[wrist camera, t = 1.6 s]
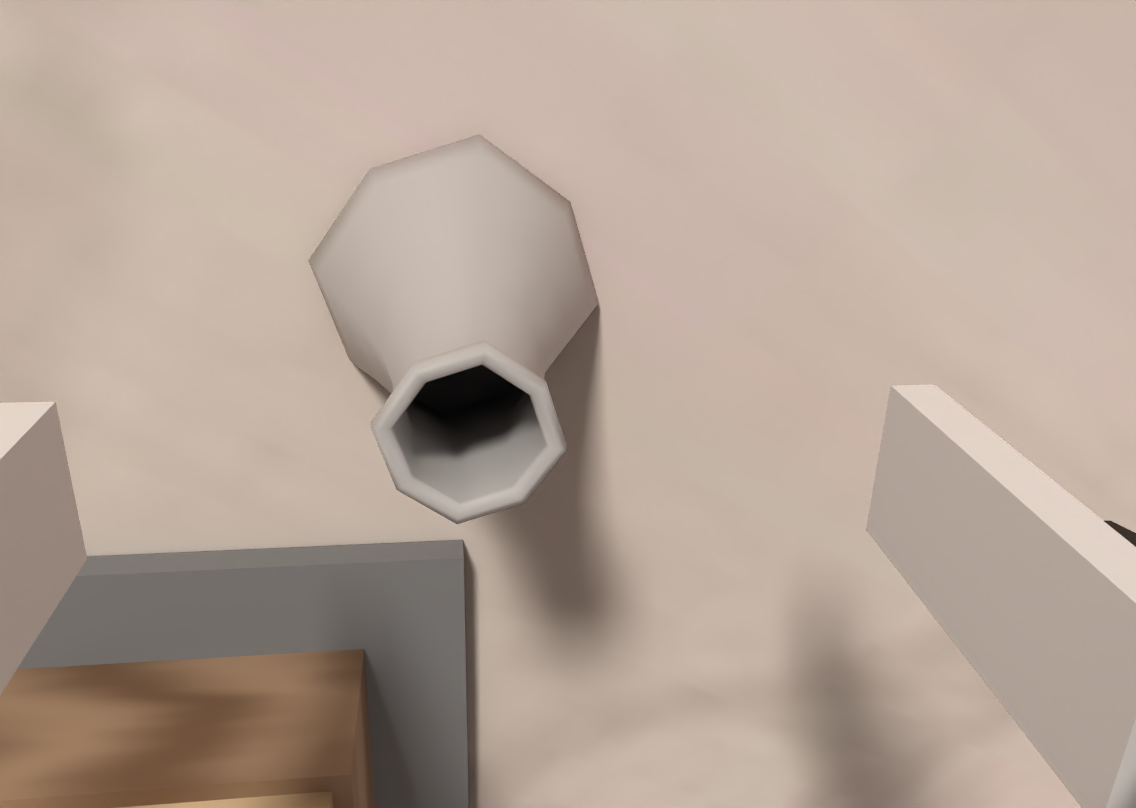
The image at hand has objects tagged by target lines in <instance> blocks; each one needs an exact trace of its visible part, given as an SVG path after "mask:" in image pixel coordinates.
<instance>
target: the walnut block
mask: <svg viewBox="0 0 1136 808" xmlns="http://www.w3.org/2000/svg"><path fill="white" fill-rule="evenodd" d="M328 791H332V798H333V808H375V797H374V783H373V769H372V754H371V740H370V726H369V712H368V698H367V683H366V669H365V655H364V649H355V650H338V651H321V652H304V653H287V654H270V655H253V656H235V657H218V658H201V659H184V660H167V661H150V662H133V663H116V664H98V665H81V666H64V667H47V668H30V669H17V670H16V671H15V673H14V675H13V676H12V678H11V679H10V681H9V682H8V684H7V686H6V687H5V689H4V690H3V692H2V693H1V695H0V808H120V807H133V806H146V805H159V804H172V803H185V802H198V801H211V800H224V799H237V798H250V797H263V796H276V795H289V794H302V793H315V792H328Z"/></svg>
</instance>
